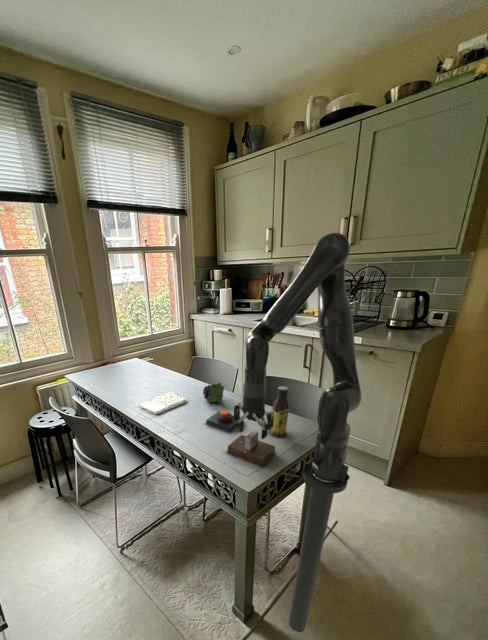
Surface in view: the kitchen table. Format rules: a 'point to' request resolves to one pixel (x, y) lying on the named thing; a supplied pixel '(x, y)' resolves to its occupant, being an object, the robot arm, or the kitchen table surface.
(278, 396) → the sauce bottle
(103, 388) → the kitchen table surface
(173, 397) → the calculator
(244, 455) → the base
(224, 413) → the button
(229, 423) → the push button box
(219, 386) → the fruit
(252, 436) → the tap lever
